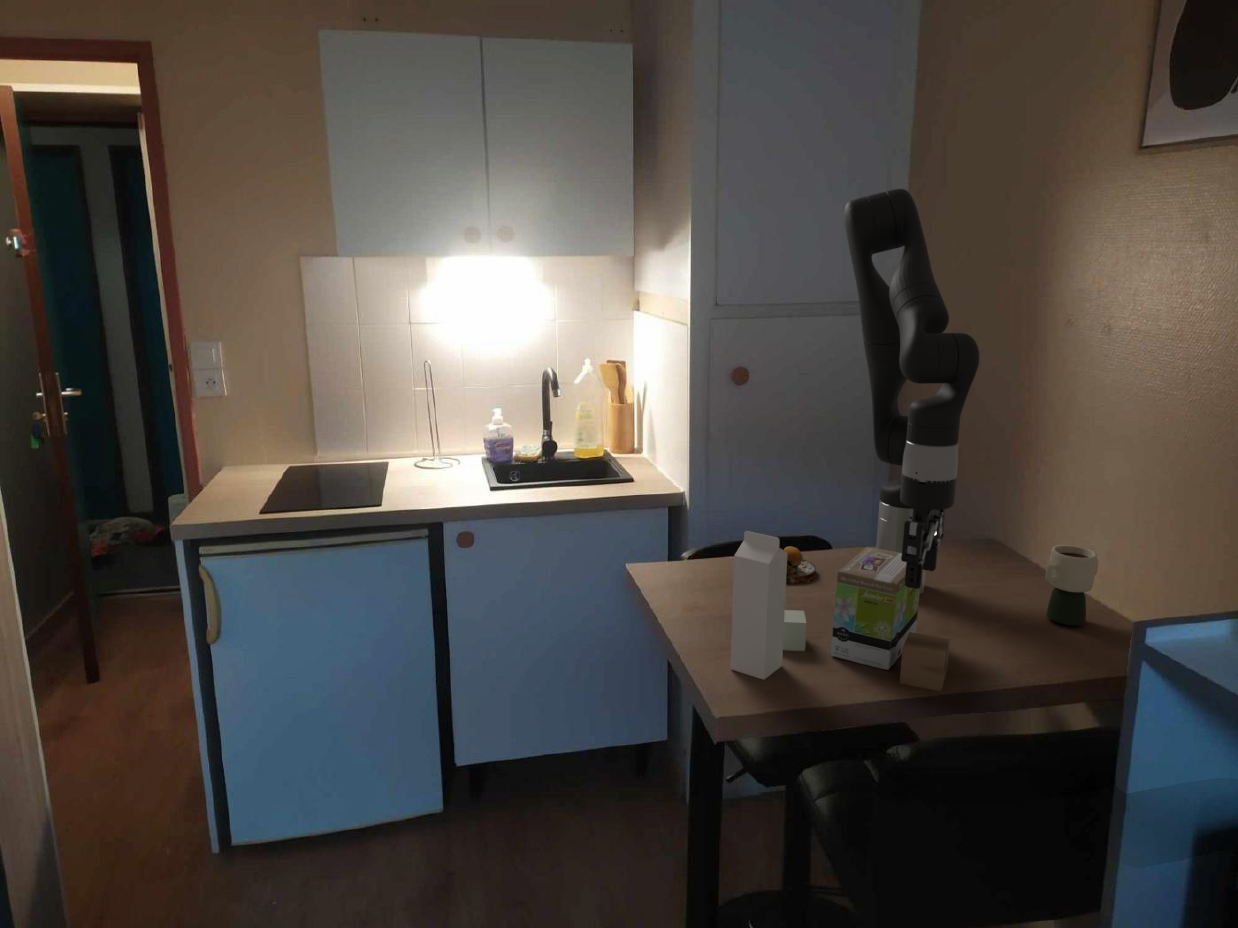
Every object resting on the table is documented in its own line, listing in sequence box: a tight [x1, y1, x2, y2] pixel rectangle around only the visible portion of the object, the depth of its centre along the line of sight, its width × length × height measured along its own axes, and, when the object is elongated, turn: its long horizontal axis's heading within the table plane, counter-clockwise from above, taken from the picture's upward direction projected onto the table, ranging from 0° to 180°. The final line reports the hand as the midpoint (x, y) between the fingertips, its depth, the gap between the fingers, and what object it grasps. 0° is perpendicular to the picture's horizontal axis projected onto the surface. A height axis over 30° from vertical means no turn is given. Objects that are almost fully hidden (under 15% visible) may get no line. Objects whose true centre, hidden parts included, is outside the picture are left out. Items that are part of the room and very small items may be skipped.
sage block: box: [783, 609, 808, 652], centre depth 154 cm, size 5×5×5 cm
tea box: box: [830, 546, 921, 671], centre depth 152 cm, size 15×10×15 cm
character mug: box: [1044, 544, 1099, 627], centre depth 162 cm, size 11×7×13 cm, turn 109°
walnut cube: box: [899, 632, 951, 692], centre depth 142 cm, size 6×6×6 cm
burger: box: [783, 545, 817, 585], centre depth 186 cm, size 12×12×8 cm
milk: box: [730, 530, 787, 681], centre depth 144 cm, size 6×6×22 cm
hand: (920, 578), depth 139 cm, fingers open, 8 cm apart
